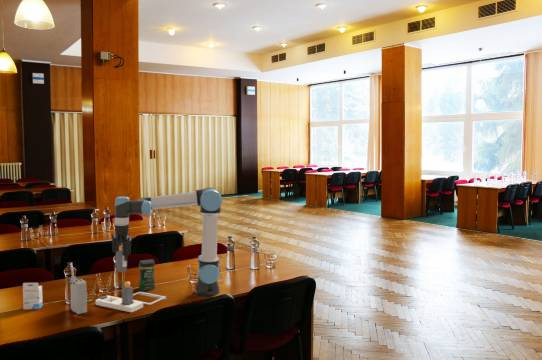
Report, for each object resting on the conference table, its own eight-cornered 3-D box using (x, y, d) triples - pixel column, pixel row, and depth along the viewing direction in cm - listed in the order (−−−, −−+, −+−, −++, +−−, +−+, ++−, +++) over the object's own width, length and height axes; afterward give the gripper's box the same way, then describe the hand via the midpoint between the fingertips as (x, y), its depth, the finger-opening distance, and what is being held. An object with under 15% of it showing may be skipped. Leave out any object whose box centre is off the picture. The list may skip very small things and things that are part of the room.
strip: (143, 308, 254) (143, 301, 254) (131, 314, 246) (131, 306, 246) (107, 301, 266) (107, 294, 265) (95, 306, 257) (95, 298, 257)
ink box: (43, 306, 257) (42, 280, 256) (39, 309, 252) (38, 282, 251) (27, 306, 256) (26, 280, 255) (23, 309, 251) (22, 283, 250)
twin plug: (132, 307, 254) (132, 281, 253) (127, 309, 251) (127, 283, 249) (127, 305, 256) (127, 280, 255) (122, 308, 252) (121, 282, 251)
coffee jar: (140, 292, 282) (140, 262, 281) (137, 288, 289) (137, 259, 288) (156, 290, 287) (156, 260, 285) (153, 286, 294) (153, 257, 292)
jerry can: (68, 307, 255) (67, 263, 253) (78, 305, 258) (77, 261, 256) (77, 316, 243) (76, 269, 241) (87, 314, 246) (86, 267, 244)
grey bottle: (126, 270, 261) (127, 245, 260) (121, 271, 258) (121, 247, 257) (121, 269, 263) (121, 244, 262) (116, 270, 260) (116, 246, 259)
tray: (166, 299, 270) (166, 296, 270) (150, 306, 258) (150, 303, 258) (139, 293, 279) (139, 291, 279) (122, 300, 267) (122, 298, 266)
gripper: (138, 225, 258) (137, 266, 260) (115, 222, 266) (115, 262, 267) (128, 227, 251) (128, 269, 253) (105, 223, 259) (105, 264, 261)
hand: (121, 265), depth 260 cm, fingers closed on grey bottle, 4 cm apart
